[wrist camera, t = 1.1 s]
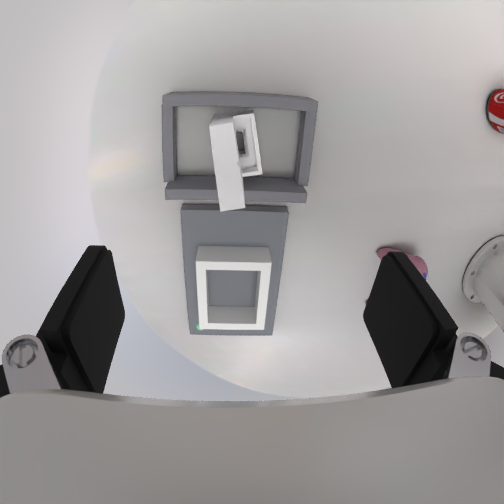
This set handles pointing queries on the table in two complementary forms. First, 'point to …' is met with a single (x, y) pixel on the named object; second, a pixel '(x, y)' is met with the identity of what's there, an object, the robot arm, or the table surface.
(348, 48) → the table surface
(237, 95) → the gray rectangular frame
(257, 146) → the white angled block
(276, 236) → the port block
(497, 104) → the beverage can
